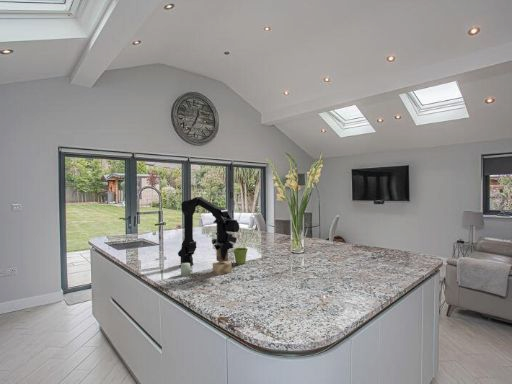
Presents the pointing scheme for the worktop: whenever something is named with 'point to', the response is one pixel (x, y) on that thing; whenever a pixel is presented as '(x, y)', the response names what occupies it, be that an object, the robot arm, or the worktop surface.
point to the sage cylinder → (185, 269)
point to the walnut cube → (219, 258)
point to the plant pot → (240, 255)
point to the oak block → (222, 267)
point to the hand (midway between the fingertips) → (222, 258)
